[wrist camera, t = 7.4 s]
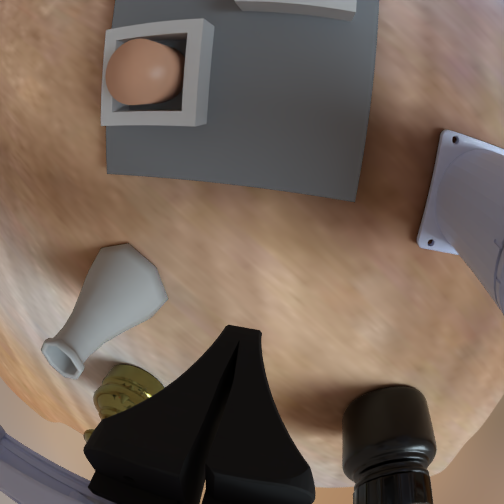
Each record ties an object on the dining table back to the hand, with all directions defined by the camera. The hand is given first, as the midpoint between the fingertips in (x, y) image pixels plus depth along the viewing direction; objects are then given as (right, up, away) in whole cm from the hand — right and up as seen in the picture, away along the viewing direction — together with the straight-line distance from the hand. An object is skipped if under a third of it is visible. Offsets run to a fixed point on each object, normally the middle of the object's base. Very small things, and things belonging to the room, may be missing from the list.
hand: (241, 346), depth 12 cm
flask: (-10, +1, +13) cm, 17 cm away
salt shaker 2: (-12, -11, +20) cm, 25 cm away
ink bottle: (+14, -12, +15) cm, 24 cm away
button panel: (0, +18, +3) cm, 18 cm away
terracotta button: (-5, +14, +4) cm, 15 cm away
